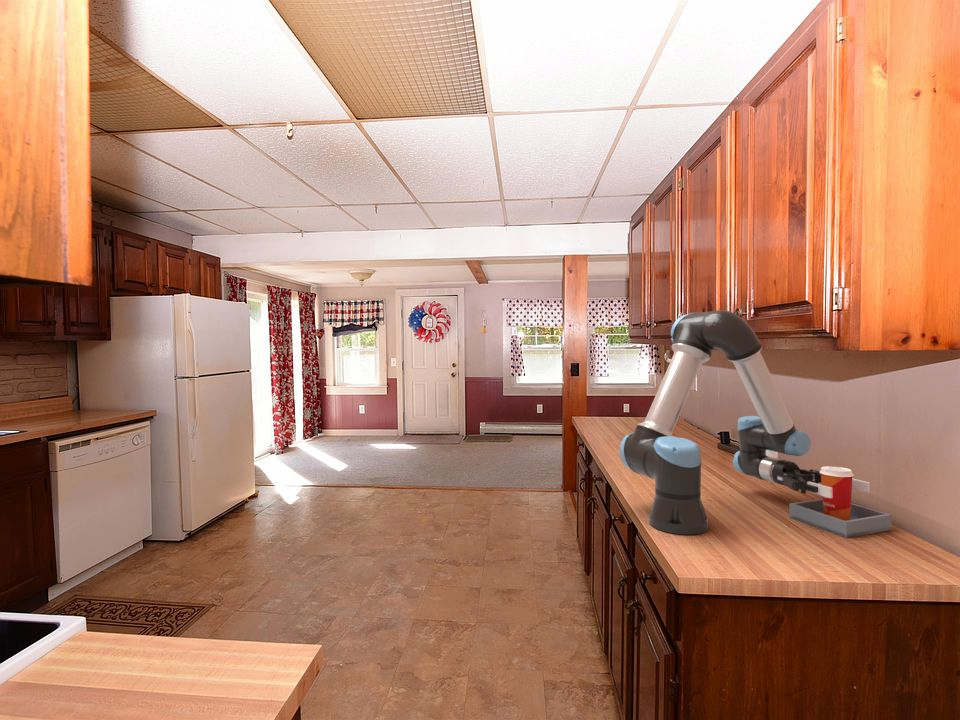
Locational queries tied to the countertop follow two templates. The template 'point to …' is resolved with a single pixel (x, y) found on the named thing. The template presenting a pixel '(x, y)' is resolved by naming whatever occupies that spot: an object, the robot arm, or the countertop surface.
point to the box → (858, 524)
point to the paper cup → (837, 491)
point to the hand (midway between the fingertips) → (850, 490)
